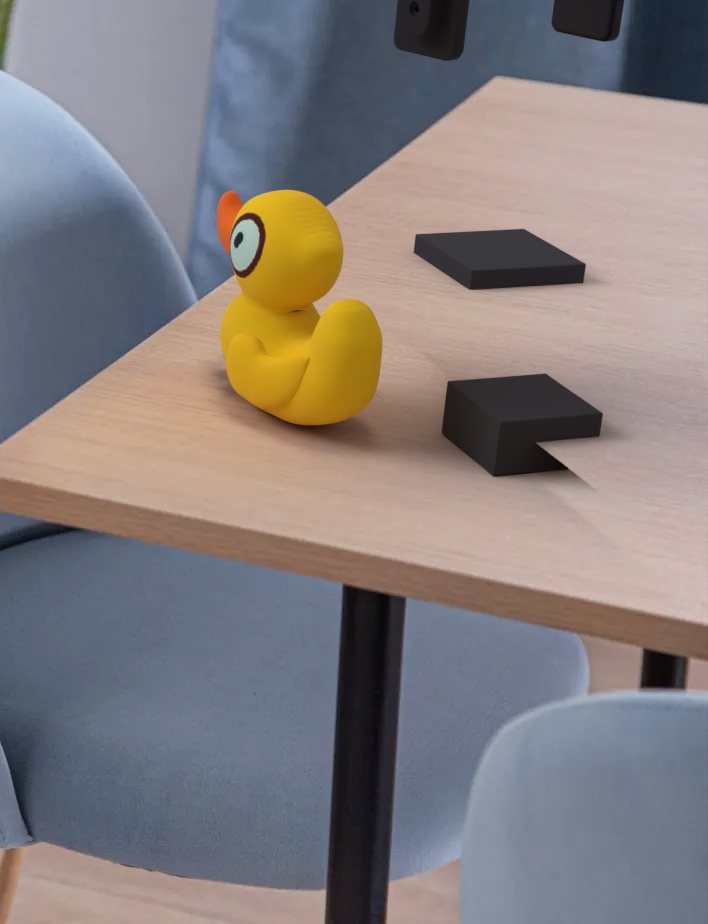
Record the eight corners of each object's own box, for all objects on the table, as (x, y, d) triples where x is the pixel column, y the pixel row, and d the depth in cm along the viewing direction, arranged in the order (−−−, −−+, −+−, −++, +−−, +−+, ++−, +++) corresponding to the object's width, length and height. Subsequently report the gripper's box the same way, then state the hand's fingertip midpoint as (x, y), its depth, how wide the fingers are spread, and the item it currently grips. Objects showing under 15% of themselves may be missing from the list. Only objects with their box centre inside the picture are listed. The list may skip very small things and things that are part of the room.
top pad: (538, 423, 81) (545, 372, 80) (594, 466, 77) (603, 413, 76) (440, 432, 80) (447, 380, 79) (492, 476, 75) (500, 422, 74)
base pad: (518, 269, 103) (524, 228, 102) (579, 307, 97) (586, 263, 96) (410, 276, 101) (415, 233, 100) (466, 314, 95) (472, 270, 94)
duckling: (166, 378, 84) (176, 171, 80) (258, 362, 87) (273, 161, 83) (306, 464, 76) (326, 237, 71) (404, 443, 78) (429, 223, 74)
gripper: (491, -453, 57) (431, 81, 65) (791, -412, 67) (710, 44, 75) (329, -449, 62) (291, 45, 70) (631, -412, 73) (570, 16, 80)
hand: (508, 44), depth 72 cm, fingers open, 9 cm apart
